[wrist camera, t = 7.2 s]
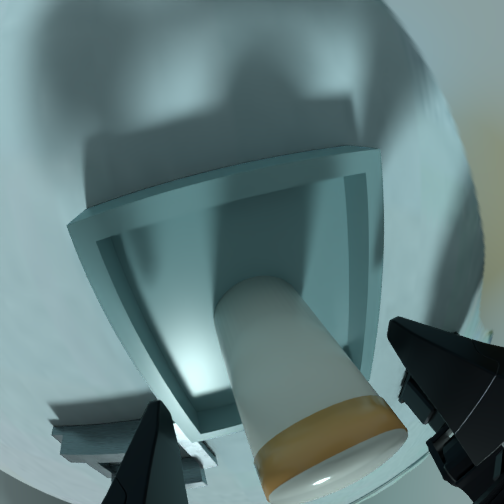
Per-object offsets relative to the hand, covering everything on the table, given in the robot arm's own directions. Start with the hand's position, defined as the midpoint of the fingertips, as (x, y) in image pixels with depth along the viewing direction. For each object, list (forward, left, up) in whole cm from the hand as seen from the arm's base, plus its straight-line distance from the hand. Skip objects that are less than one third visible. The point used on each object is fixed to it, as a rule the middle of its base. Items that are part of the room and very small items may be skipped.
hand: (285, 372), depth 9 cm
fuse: (0, 0, -4) cm, 4 cm away
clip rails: (+11, +10, -4) cm, 15 cm away
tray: (0, 0, -4) cm, 4 cm away
